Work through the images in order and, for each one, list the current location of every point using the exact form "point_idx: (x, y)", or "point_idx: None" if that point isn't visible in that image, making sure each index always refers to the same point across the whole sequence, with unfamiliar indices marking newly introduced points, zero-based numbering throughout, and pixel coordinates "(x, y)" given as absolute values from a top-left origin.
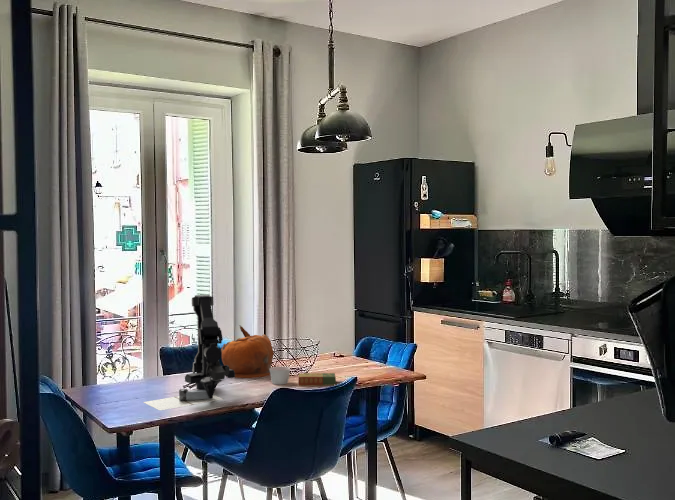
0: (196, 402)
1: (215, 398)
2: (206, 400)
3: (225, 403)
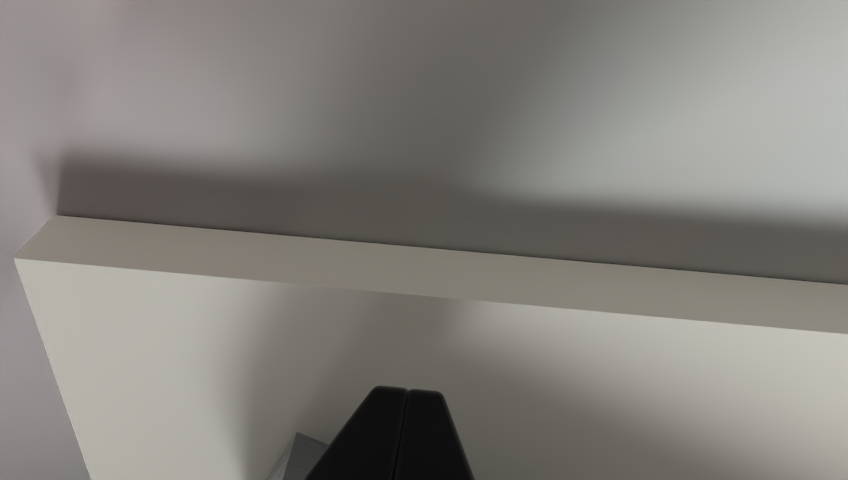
0: (809, 454)
1: (195, 441)
2: (481, 440)
3: (55, 28)
